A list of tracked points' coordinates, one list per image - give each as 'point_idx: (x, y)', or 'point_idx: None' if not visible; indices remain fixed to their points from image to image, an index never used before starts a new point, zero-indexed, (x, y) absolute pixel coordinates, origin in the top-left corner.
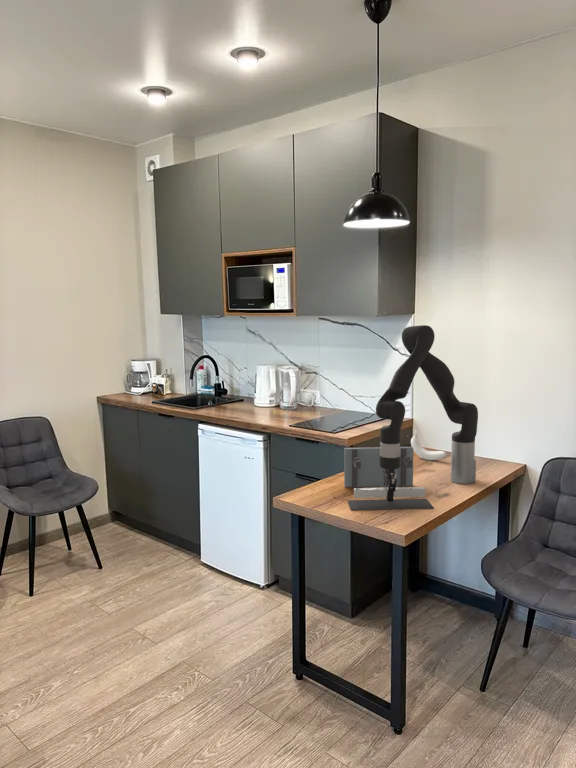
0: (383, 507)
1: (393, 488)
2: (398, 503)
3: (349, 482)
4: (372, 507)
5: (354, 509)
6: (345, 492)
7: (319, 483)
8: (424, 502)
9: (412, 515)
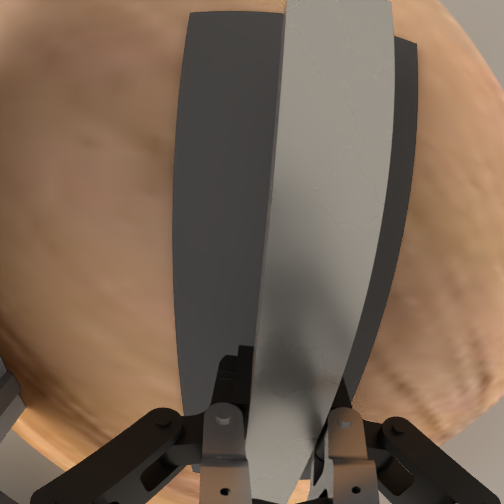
0: None
1: (399, 451)
2: None
3: (9, 405)
4: None
5: None
6: (79, 433)
7: (26, 440)
8: None
9: (486, 247)
